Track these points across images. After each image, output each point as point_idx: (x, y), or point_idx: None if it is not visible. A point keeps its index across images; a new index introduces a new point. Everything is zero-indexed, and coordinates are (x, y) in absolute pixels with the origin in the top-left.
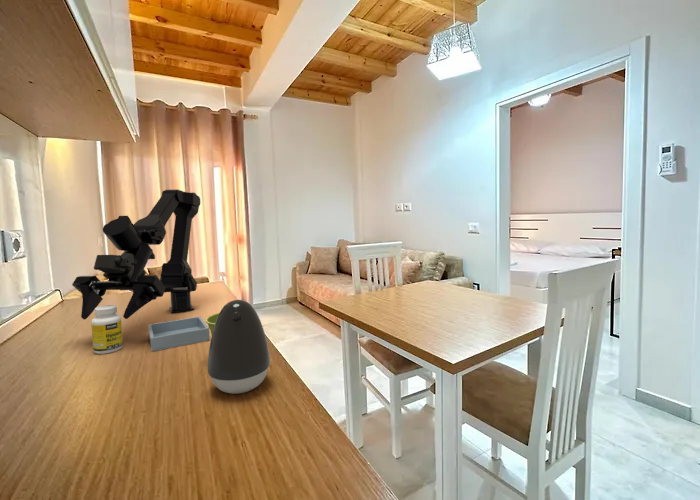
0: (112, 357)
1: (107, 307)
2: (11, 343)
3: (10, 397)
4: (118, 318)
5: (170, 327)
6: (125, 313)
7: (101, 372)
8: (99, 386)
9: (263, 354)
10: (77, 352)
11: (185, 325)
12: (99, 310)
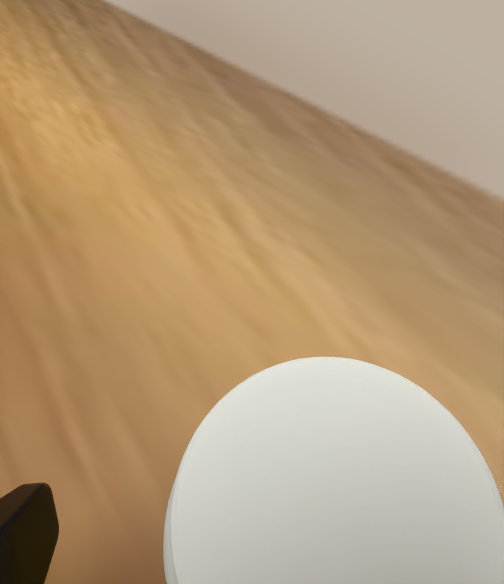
0: (175, 412)
1: (288, 498)
2: None
3: (291, 102)
4: (165, 550)
5: None
6: (6, 504)
7: (112, 252)
8: (47, 166)
9: None
10: None
11: None
12: (305, 358)
